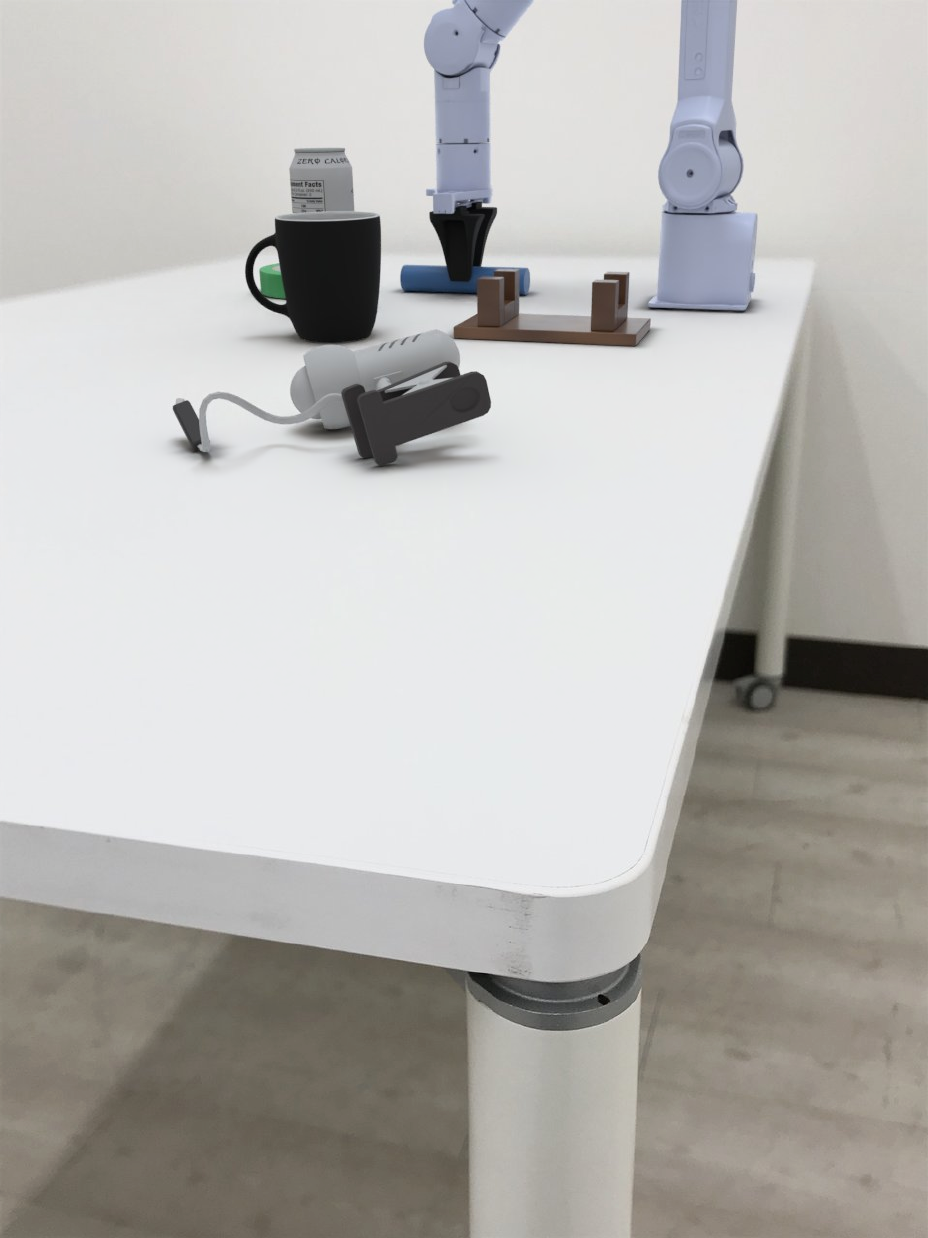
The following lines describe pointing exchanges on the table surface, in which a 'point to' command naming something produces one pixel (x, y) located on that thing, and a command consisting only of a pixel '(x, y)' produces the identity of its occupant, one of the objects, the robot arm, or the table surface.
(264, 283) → the tape roll
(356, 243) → the mug
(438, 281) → the handle
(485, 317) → the holder
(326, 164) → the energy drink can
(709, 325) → the table surface
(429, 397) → the clip-on lamp
